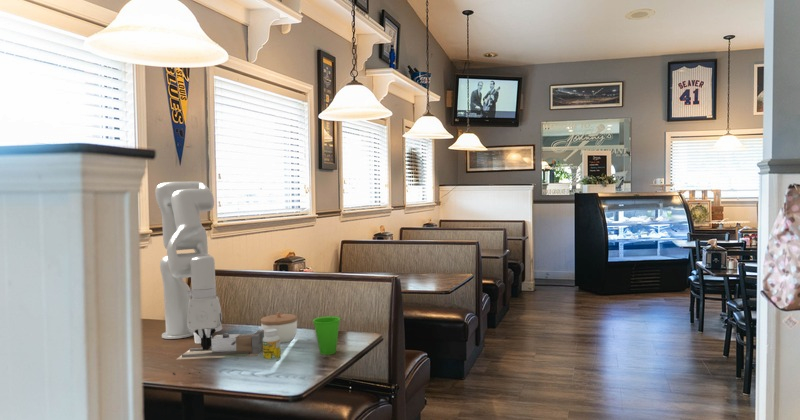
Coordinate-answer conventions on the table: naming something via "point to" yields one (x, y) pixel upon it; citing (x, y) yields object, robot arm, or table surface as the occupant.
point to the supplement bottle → (271, 344)
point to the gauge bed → (200, 353)
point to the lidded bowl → (281, 325)
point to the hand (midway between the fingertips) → (206, 348)
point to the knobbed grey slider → (224, 343)
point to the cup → (327, 334)
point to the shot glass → (197, 338)
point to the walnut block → (244, 343)
